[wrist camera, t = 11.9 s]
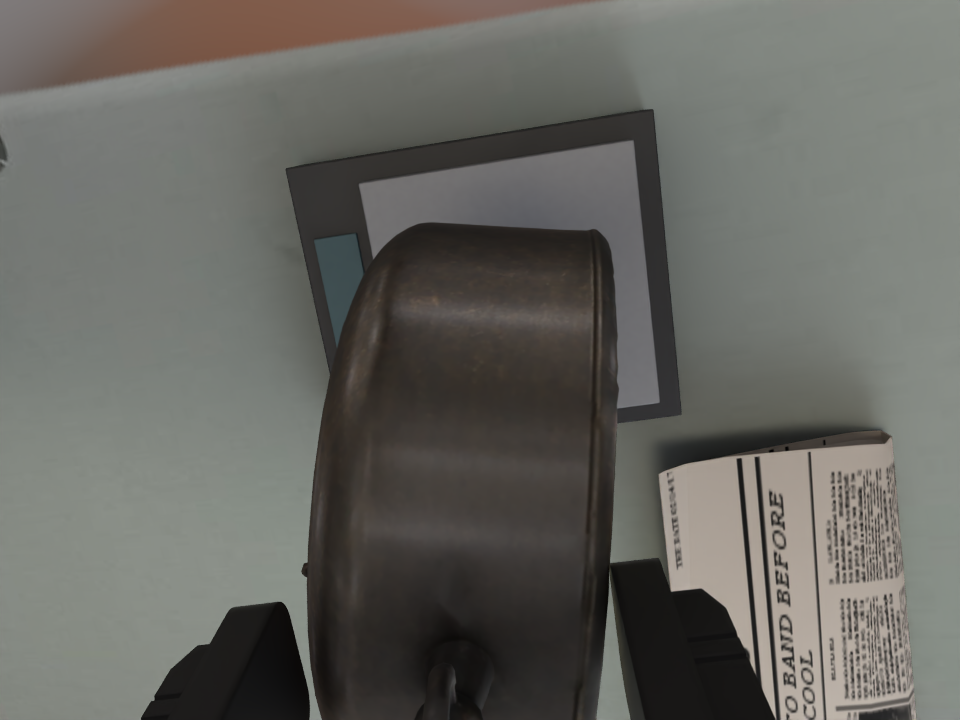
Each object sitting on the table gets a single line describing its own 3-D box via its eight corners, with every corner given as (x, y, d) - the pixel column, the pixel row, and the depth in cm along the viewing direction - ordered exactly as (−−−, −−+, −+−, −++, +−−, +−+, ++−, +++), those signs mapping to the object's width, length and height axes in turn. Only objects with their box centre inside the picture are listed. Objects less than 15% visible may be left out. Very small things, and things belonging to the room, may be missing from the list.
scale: (357, 439, 39) (344, 467, 36) (299, 165, 36) (279, 169, 33) (671, 397, 38) (685, 421, 35) (643, 109, 35) (657, 109, 32)
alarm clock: (559, 569, 24) (657, 1355, 9) (379, 559, 25) (166, 1321, 9) (590, 198, 21) (825, 416, 6) (384, 188, 21) (71, 375, 6)
